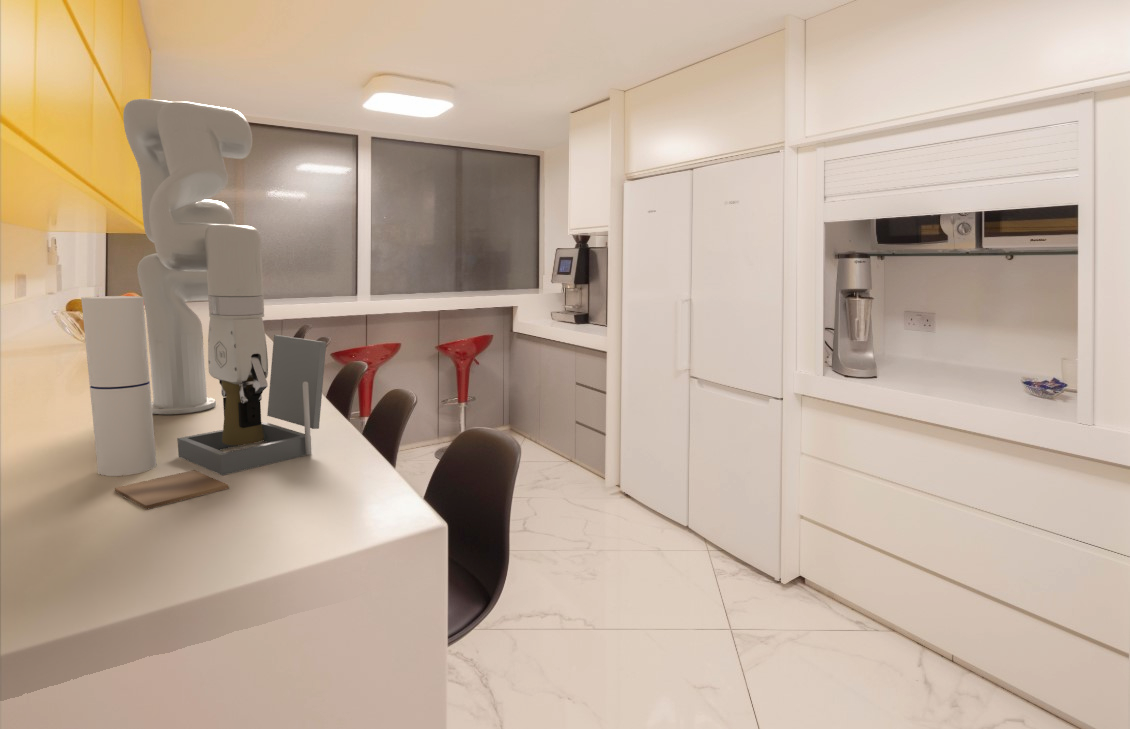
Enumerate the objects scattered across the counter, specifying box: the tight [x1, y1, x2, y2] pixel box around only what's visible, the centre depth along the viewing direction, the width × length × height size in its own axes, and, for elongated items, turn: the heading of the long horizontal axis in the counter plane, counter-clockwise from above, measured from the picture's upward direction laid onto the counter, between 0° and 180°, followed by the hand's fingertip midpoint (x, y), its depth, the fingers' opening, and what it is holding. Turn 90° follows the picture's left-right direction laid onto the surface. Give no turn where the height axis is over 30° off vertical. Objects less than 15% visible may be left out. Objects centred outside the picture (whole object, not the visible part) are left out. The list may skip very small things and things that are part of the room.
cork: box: [221, 377, 264, 446], centre depth 101 cm, size 6×6×11 cm
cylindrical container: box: [81, 295, 158, 477], centre depth 93 cm, size 7×7×25 cm
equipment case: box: [177, 382, 312, 476], centre depth 101 cm, size 15×14×12 cm
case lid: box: [266, 334, 327, 430], centre depth 107 cm, size 14×14×1 cm
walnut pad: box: [114, 469, 230, 510], centre depth 86 cm, size 10×10×1 cm
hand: (242, 422), depth 102 cm, fingers closed on cork, 4 cm apart
